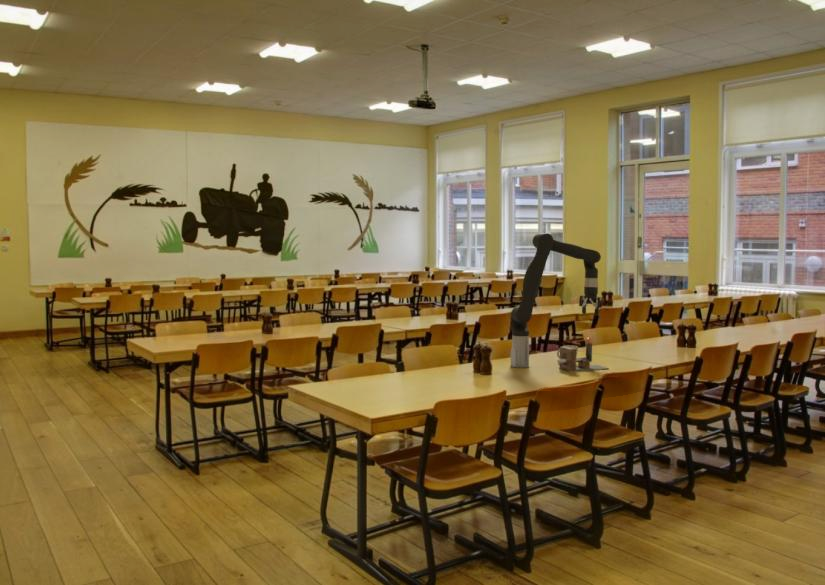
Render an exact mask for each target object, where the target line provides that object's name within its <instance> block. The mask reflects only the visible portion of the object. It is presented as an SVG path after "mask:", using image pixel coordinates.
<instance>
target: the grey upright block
mask: <svg viewBox="0 0 825 585" xmlns="http://www.w3.org/2000/svg"><path fill="white" fill-rule="evenodd" d="M563 346H564V347H563ZM563 346H560V347H559V349H560V352H559V356H560V359H566V363H560V364H559V367H560V370H563V371H566V370H567V371H566V372H569V371H572V370H576V366H577V362H576V358H577V357H576V349H574V348H571V347H567V346H565V345H563ZM562 368H563V369H562ZM569 373H570V372H569Z"/></svg>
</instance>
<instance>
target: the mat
mask: <svg viewBox="0 0 825 585" xmlns="http://www.w3.org/2000/svg"><path fill="white" fill-rule="evenodd" d="M558 369H560V366H559V367H558ZM562 369H563V368H562ZM562 369H560V370H562ZM602 370H603V371H604V370H606V371H607V370H610V368H609V367H606V366H603V365H599V364H590V368H587V369H582V368H579V367H578V365H576V370H572V371H569V373H572V372H573V373H574V372H588V371H602ZM566 372H568V371H567V370H566Z"/></svg>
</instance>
